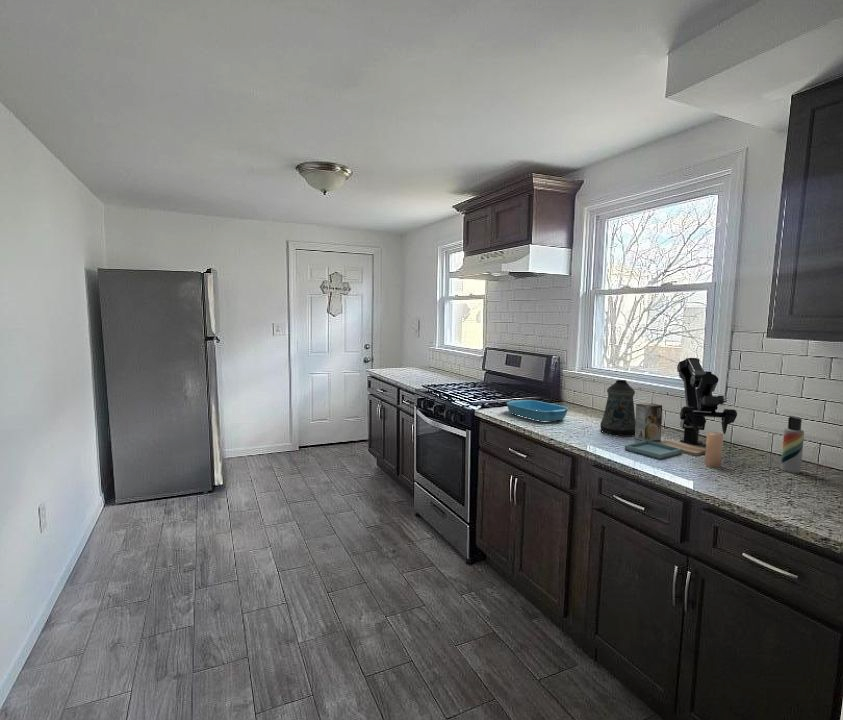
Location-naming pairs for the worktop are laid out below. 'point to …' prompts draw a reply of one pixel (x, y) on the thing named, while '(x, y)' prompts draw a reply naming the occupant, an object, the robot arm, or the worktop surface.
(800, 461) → the lotion bottle
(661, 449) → the tray
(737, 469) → the worktop surface
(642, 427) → the coffee box
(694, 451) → the tan board
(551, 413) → the casserole dish
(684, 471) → the worktop surface
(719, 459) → the tan glossy round part
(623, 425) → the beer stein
